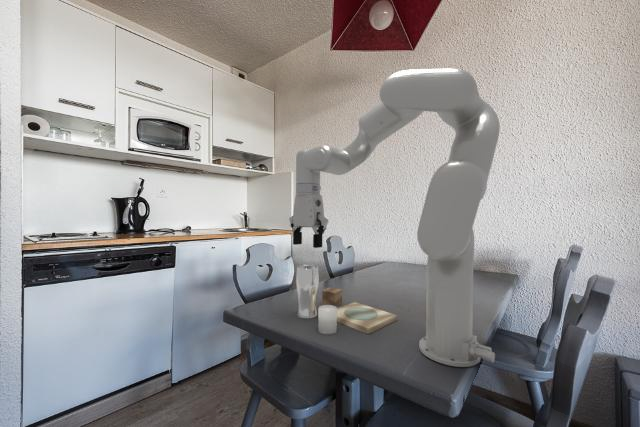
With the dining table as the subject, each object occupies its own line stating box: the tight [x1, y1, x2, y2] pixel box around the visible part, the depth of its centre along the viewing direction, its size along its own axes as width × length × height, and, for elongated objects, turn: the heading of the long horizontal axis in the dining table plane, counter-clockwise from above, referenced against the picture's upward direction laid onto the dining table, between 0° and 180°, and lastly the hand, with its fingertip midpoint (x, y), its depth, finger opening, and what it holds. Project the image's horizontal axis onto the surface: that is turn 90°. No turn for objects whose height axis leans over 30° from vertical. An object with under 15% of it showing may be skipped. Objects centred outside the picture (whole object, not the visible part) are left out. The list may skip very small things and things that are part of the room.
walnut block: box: [321, 286, 343, 308], centre depth 95 cm, size 5×5×5 cm
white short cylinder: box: [317, 304, 338, 335], centre depth 73 cm, size 5×5×6 cm
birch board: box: [337, 301, 398, 335], centre depth 82 cm, size 16×14×2 cm
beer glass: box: [295, 264, 320, 320], centre depth 84 cm, size 7×7×15 cm
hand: (307, 245), depth 84 cm, fingers open, 9 cm apart
